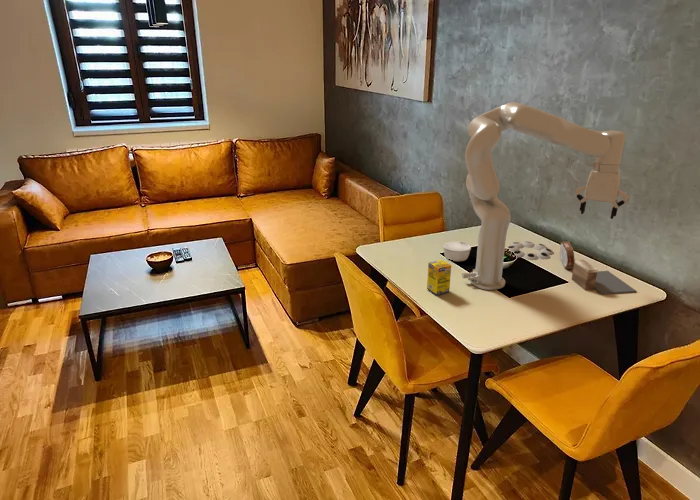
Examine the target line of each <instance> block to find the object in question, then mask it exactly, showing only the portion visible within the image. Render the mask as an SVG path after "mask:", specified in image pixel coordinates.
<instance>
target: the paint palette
mask: <svg viewBox="0 0 700 500" xmlns="http://www.w3.org/2000/svg"><path fill="white" fill-rule="evenodd" d="M506 248H507V249H509V250H510V251H512V252H513V253H514V254H515V255H516V256H518V257H517V258H524V259H525V260H529V261H536V260H540V259H541V260H549V259H551V256H552V255H555V252H554V251H553V250H552V249H550V248H548V247H547V245H545V244H543V243H536V244H535V243H534V242H532V241H524V242H522V243H521V242H520V241H519V242H518V241H515V242H511V244H510V245H509V246H507V247H506ZM523 248H528V249H530V248H531V249H534V250H537V251H538V252H537V253H536V254H535V253H533V252H528V253H525V252H524V251H522V250H520V249H523ZM512 252H511V253H512ZM515 252H516V253H515ZM531 256H532V257H531Z"/></svg>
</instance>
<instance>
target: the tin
mask: <svg viewBox="0 0 700 500" xmlns="http://www.w3.org/2000/svg"><path fill="white" fill-rule="evenodd" d="M559 257H560V259H559V260H560V261H561V263H562V265H563V267H564V269H571V270H572V269H574V263H575V252H574V248H573V246H572V244H571V243H570V241H561V242H560V251H559Z"/></svg>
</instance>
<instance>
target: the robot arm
mask: <svg viewBox="0 0 700 500" xmlns="http://www.w3.org/2000/svg"><path fill="white" fill-rule="evenodd" d="M507 129H511V130H513V131H516V132H517V133H521V134H524V135H528V136H530V137H532V138H536V139H539V140H541V141H544V142H547V143H550V144H551V145H557V146H561V147H564V148H566V149H567V148H568V149H570V150H572V151H576V152H578V153H581V154H585V155H588V156H590V157H593V158H595V161H594V162H590V163H589V167H591V168H592V170H590V172H589V175H588V178H587V182H586V185H584V186H579V187H577V188H575V189H574V193H575V196H576V198H577V199H578V201H579V203H580V206H579V212H580V214H581V215H583V214H584V213H585V211H586V205H587V200H590V201H597V202H602V203H611V204H612V208H611V213H610V219H611V220H613V219H614V217H616V216H617V215H618V214H617V213H618V209H619V208H620V207H621V206H623V205H624V204H625V203H626V202H627V201H628V200H629V199H630V195H628V194H627V193H625V192H624V191H622V190H621V189H620V183H621V173H620V172H619V170H620V165H621V161H622V154H623V150H624V145H625V140H626V134H625V133H624V132H623V131H621V130H620V131H619V130H611V129H610V130H603V131H602V130H594V129H590V128H586V127H584V126H581V125H579V124H576V123H574V122H571V121H569V120H567V119H565V118H563V117H559V116H557V115H555V114H552V113H548V112H546V111H543V110H541V109H538V108H534V107H532V106H530V105H527V104H523V103H520V102H516V101H512V102H511V101H510V102H508V103H504V104H503V105H500V106H498V107H496V108H493V109H491V110H489V111H487V112H485V113H482V114H479V115H478V116H475V117H474V118H473V119H472V120H471V121H470V122H469V124H468V127H467V133H468V135H469V137H470V139H469V141H468V143H467V146H466V149H465V151H464V153H465V155H464V159H465V161H464V162H465V166H466V169H467V172H468V174H467V175H466V178H465V186H466V189H467V193H468V196H469V198H470V202H471V205H472V207H473V211H474V212H475V214H476V216H477V217H478V219H480V221H481V225H480V229H479V232H478V238H477V249H476V262H475V268H473V269H472V271H470V272H464V273H463V272H462V274H461V277H462V279H467V281H469V282H470V284H471V285H472V286H474V287H476V288H478V289H482V290H487V291H488V290H489V291H496V290H499V289H502V288H504V287H505V285H506V280H505V279H504V278H503V277H502V276H503V267H504V266H503V265H504V257H505V251H506V240H507V235H508V229H509V226H510V223H511V213H510V209H509V208H508V206H507V205H506V204H505V203H504V202H503V201H501V199H499V197H498V194H499V192H500V182H499V179H498V175H497V173H496V170H495V167H494V163H493V159H492V152H493V150H494V148H495V146H496V145H497V143H498V142H499V141H500V139H501V136H502V132H504V131H505V130H507ZM583 191H584V195H582V193H581V192H583ZM618 196H620V197H622V199H621V200H620V201H618V200H617V198H618Z"/></svg>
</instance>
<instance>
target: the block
mask: <svg viewBox="0 0 700 500" xmlns="http://www.w3.org/2000/svg"><path fill="white" fill-rule="evenodd" d="M597 271H599V270H598V268H596V267H595V266H594V265H592V264H591V263H589V262H588V261H587V260H585V259H574V266H573V270H572V275H571V281H573V282H574V283H575V284H577V285H578V286H579V287H580V289H583V290H584V291H593V290H595V289H594V287H595V282H596V276H597Z"/></svg>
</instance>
